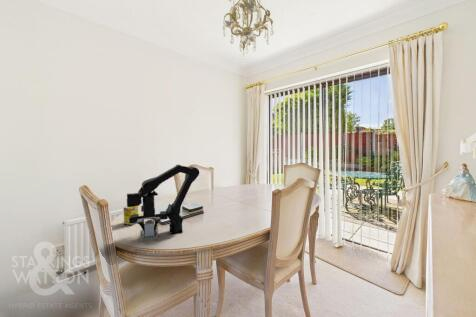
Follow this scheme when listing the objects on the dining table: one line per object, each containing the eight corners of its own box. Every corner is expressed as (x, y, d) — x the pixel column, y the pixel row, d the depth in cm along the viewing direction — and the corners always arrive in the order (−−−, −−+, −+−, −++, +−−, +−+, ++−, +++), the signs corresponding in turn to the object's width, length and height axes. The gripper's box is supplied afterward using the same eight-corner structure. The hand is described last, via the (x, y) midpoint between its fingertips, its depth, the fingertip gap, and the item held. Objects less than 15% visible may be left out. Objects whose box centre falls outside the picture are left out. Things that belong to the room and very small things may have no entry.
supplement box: (131, 226, 127) (131, 208, 126) (123, 224, 129) (123, 207, 128) (139, 222, 133) (138, 205, 132) (131, 221, 134) (130, 204, 133)
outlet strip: (158, 227, 125) (158, 225, 125) (157, 239, 111) (157, 236, 111) (142, 229, 123) (142, 227, 122) (139, 241, 108) (139, 239, 108)
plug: (154, 232, 116) (154, 218, 115) (154, 236, 112) (153, 222, 111) (145, 233, 115) (145, 219, 114) (145, 237, 110) (144, 223, 110)
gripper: (166, 198, 122) (167, 223, 124) (131, 201, 116) (132, 228, 118) (167, 204, 112) (168, 232, 113) (128, 207, 106) (129, 237, 107)
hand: (149, 232), depth 113 cm, fingers closed on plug, 4 cm apart
